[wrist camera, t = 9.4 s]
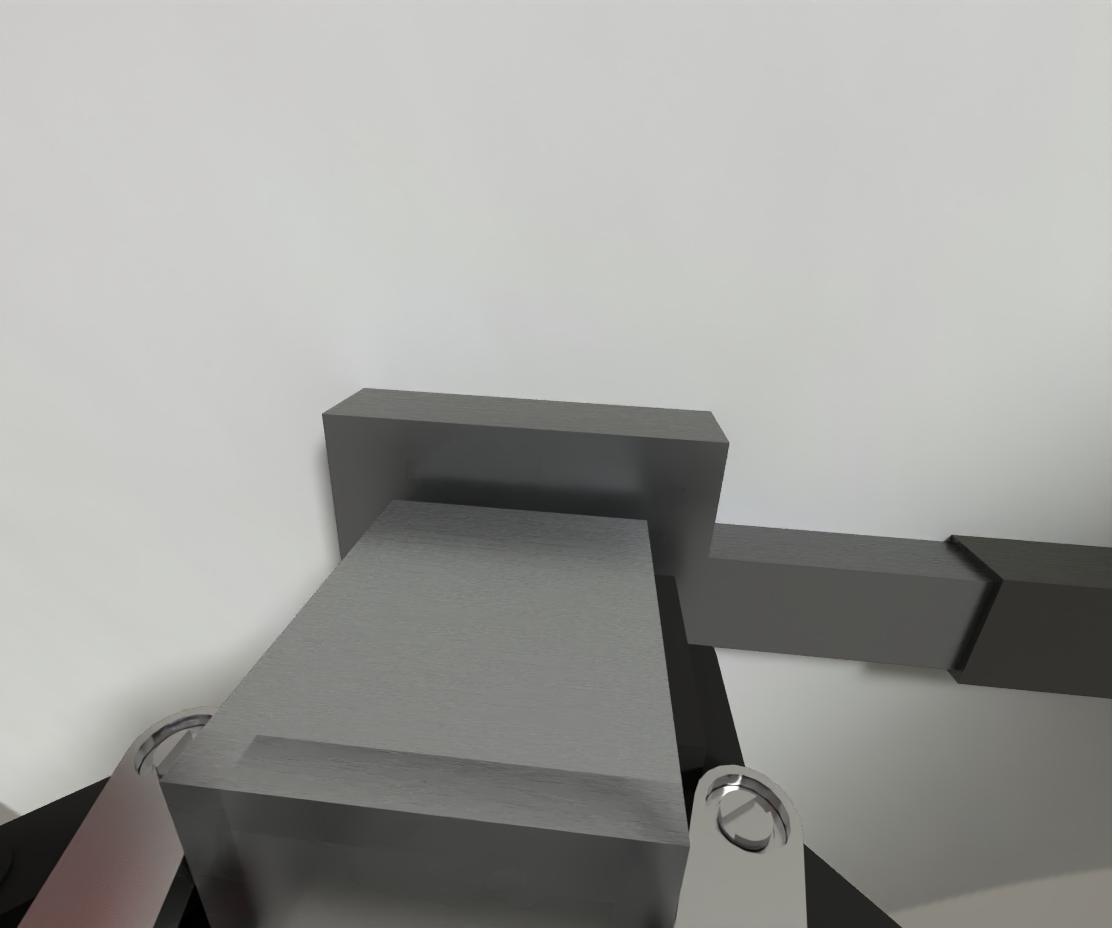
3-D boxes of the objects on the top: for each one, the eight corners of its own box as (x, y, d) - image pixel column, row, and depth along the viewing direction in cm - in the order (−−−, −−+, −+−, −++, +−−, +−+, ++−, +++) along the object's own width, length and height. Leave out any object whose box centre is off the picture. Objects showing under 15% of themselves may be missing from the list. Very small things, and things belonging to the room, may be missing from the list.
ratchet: (1398, 458, 11) (1960, 613, 6) (1199, 737, 14) (1483, 975, 10) (363, 388, 13) (222, 474, 8) (390, 654, 16) (299, 827, 11)
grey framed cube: (646, 520, 10) (691, 845, 5) (623, 712, 12) (634, 1102, 7) (392, 499, 11) (158, 781, 5) (408, 689, 13) (252, 1042, 7)
